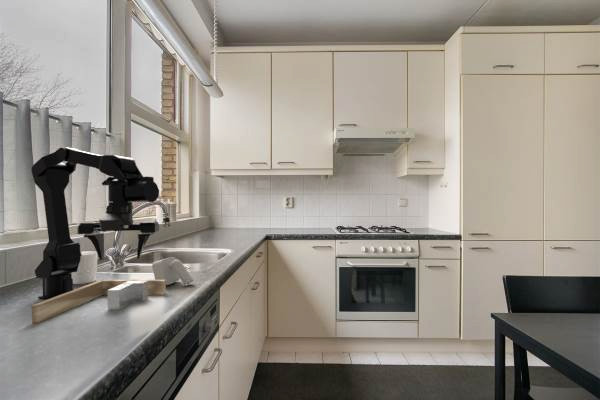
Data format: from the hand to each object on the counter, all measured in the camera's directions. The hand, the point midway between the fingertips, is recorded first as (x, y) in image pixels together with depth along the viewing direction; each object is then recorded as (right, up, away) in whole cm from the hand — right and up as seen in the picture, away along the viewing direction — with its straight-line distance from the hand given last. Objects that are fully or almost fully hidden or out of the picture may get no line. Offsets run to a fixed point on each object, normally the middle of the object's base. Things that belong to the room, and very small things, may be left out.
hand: (120, 259), depth 85 cm
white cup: (-25, -12, +22) cm, 36 cm away
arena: (-1, -12, -3) cm, 12 cm away
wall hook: (+9, -12, +17) cm, 22 cm away
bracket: (+4, -12, -2) cm, 12 cm away
